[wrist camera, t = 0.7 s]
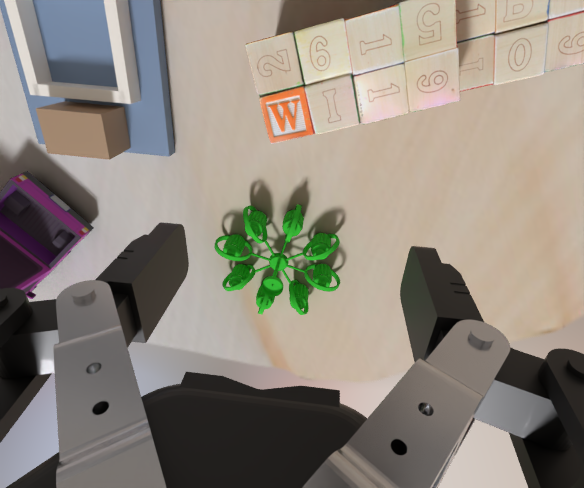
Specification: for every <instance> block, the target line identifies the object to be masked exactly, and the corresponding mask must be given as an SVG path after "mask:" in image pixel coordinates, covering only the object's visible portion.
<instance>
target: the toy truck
mask: <svg viewBox="0 0 584 488" xmlns="http://www.w3.org/2000/svg"><path fill="white" fill-rule="evenodd" d="M92 229H93V227H92V226H91V225H90V224H89V223H88V222H86V221H85V220H84V219H83V218H82V217H81V216H79V215H78V214H77V213H76V212H75V211H74V210H72V209H71V208H70V207H69V206H68V205H66V204H65V203H64V202H63V201H62V200H61V199H59V198H58V197H57V196H56V195H55V194H54V193H52V192H51V191H50V190H49V189H48V188H47V187H45V186H44V185H43V184H42V183H41V182H39V181H38V180H37V179H36V178H35V177H34V176H32V175H31V174H30V173H29V172H28V171H27V172H24V173H22V174H20V175H18V176H15V177H13V178H11V179H10V180H9V181H8V182H7V184H6V185H5V187H4V188H3V189H2V191H1V192H0V289H3V288H18V289H21V290H23V291H24V292H25V293H26V296H27V297H28V298H30V299H33V298H34V297H35V296H36V294H34V293H32V291H33V290H34V289H35V288H36V287H37V286H36V285H37V284H38V283H39V282H41V281H42V280H43V279H44V278H45V277H46V276H47V275H48V274H49V273H50V272H51V271H52V270H53V269H54V268H55V267H56V266H57V265H58V264H59V263H60V262H61V261H62V260H63V259H64V258H65V257H66V256H67V255H68V254H69V253H70V252H71V251H70V250H71V249H72V248H73V247H74V246H76V245H77V244H78V243H79V242H80V241H81V240H82V239H83V238H84V237H85V236H86V235H87V234H88V233H89V232H90V231H91V230H92Z"/></svg>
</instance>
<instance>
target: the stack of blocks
mask: <svg viewBox="0 0 584 488" xmlns="http://www.w3.org/2000/svg"><path fill="white" fill-rule="evenodd" d="M245 47H246V51H247V55H248V59H249V63H250V67H251V71H252V75H253V79H254V83H255V87H256V91H257V94H258V95H260V98H259V100H260V105H261V109H262V113H263V117H264V120H265V124H266V128H267V132H268V135H269V139H270V142H271V143H272V144H273V143H278V142H282V141H286V140H291V139H295V138H300V137H304V136H309V135H312V134H314V133H315V134H322V133H326V132H330V131H334V130H338V129H343V128H347V127H351V126H355V125H358V124H360V123H362V124H368V123H373V122H377V121H381V120H385V119H389V118H393V117H397V116H402V115H405V114H407V113H409V112H416V111H420V110H424V109H428V108H433V107H437V106H441V105H445V104H449V103H453V102H458V101H460V91H465V90H469V89H474V88H478V87H483V86H488V85H499V84H503V83H508V82H513V81H518V80H522V79H526V78H531V77H535V76H539V75H542V74H544V73H545V72H548V71H553V70H558V69H562V68H567V67H571V66H576V65H580V64H584V0H406V1H403V2H400V3H398V4H396V5H393V6H390V7H388V8H385V9H382V10H378V11H375V12H371V13H368V14H364V15H361V16H357V17H354V18H350V19H345V18H340V19H337V20H333V21H330V22H326V23H323V24H319V25H315V26H312V27H308V28H304V29H301V30H297V31H295V32H288V33H284V34H280V35H277V36H273V37H269V38H265V39H262V40H258V41H254V42H251V43H247V44H246V45H245Z"/></svg>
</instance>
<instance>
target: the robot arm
mask: <svg viewBox="0 0 584 488" xmlns="http://www.w3.org/2000/svg"><path fill="white" fill-rule="evenodd" d="M188 264H189V262H188V253H187V245H186V238H185V230H184V227H183V225H181V224H172V223H159V224H158V225H157V226H156V227H155V228H154V230H153V231H152V232H151V233H150V234H149V235H143V236H141V237H139V238H137V239H136V240H134V241H132V242H131V243H130V244H129V245H128V246H127V247H126V248H125V249H124V252H121V254H120V255H119V256H118V257H117V259H115V260H114V261H113V262H112V263H111V264H110V265H109V266H108V267H107V268H106V269H105V270H104V271H103V272H102V273H101V274H100V276H99V277H98V278H97V279H96V280H89V281H83V282H79V283H76V284H74V285H72V286H70V287H68V288H66V289H65V290H63V291H62V292H61V293H60V294H59V295H58V297H57V299H54V300H44V301H35V302H29V300H28V298H27V296H26V293H25V292H24V291H23V290H21V289H18V288H3V289H0V442H1V441H2V440H3V438H4V437H5V436H6V434H7V433H8V432H9V430H10V429H11V428H12V426H13V425H14V424H15V422H16V421H17V420H18V418H19V417H20V416H21V414H22V413H23V411H24V410H25V409H26V408H27V406H28V405H29V404H30V402H31V401H32V400H33V398H34V397H35V396H36V394H37V393H38V391H39V390H40V388H41V387H42V386H43V385H44V383H45V382H46V381H47V379H48V378H49V377H50V375H51V374H52V373H55V384H56V385H55V387H56V403H57V420H58V437H59V452H58V453H57V454H55V455H54V456H52V457H51V458H50V459H48V460H46V461H45V462H43V463H42V464H40V465H39V466H37V467H36V468H34V469H33V470H31V471H30V472H28V473H27V474H25V475H24V476H23V477H21V478H20V479H18V480H17V481H15V482H14V483H12V484H11V485H9V486H8V487H6V488H438V486H439V484H440V483H441V481H442V479H443V477H444V475H445V473H446V471H447V469H448V468H449V466H450V464H451V462H452V460H453V459H454V457H455V455H456V453H457V451H458V450H459V447H460V446H461V444H462V442H463V441H464V439H465V437H466V435H467V434H468V432H469V430H470V428H471V426H472V424H473V423H474V421H475V419H477V420H479V421H482V422H484V423H487V424H489V425H492V426H494V427H496V428H499V429H501V430H504V431H506V432H509V434H510V437H511V440H512V443H513V446H514V448H515V451H516V454H517V457H518V460H519V463H520V465H521V468H522V471H523V474H524V476H525V480H526V482H527V485H528V488H584V354H582V353H579V352H577V351H573V350H569V349H554V350H552V351H550V352H549V353H548V355H547V356H546V358H545V359H541V358H539V357H535V356H532V355H529V354H526V353H523V352H520V351H518V350H514V349H513V348H510V343H509V341H508V340H507V338H506V337H505V336H504V335H503V334H502V333H501V332H500V331H499V330H498V329H496V328H495V327H493V326H491V325H489V324H487V323H484V321H483V319H482V317H481V315H480V313H479V311H478V309H477V306H476V304H475V302H474V300H473V298H472V296H471V295H470V292H469V290H468V288H467V286H465V285H466V284H465V282H464V280H463V278H462V276H461V274H460V273H459V272H458V271H457V270H456V269H455V268H454V267H452V266H451V265H450V264H444V263H441V260H440V258H439V256H438V253H437V251H436V249H435V248H427V247H416V246H412V247H411V248H410V251H409V254H408V259H407V263H406V267H405V271H404V275H403V279H402V283H401V290H400V297H401V303H402V308H403V312H404V317H405V321H406V326H407V330H408V335H409V339H410V344H411V348H412V352H413V357H414V361H415V363H414V364H413V366H412V367H411V368H410V369H409V370H408V372H407V373H406V374H405V375H404V377H402V379H401V380H400V381H399V382H398V383H397V385H396V386H395V387H394V388H393V389H392V390H391V392H390V393H389V394H388V395H387V396H386V397H385V399H384V400H383V401H382V402H381V404H380V405H379V406H378V407H377V408H376V409H375V410H374V412H373V413H372V414H371V415H370V416H369V417H368V419H367V418H366V417H365V416H363V415H362V414H360V413H359V412H357V411H356V410H354V409H352V408H350V407H348V406H346V405H343V404H341V403H340V398H339V397H340V393H339V392H340V391H339V390H332V389H324V388H315V387H307V386H294V387H284V388H274V389H265V390H260V389H256V388H253V387H250V386H248V385H245V384H242V383H240V382H237V381H234V380H232V379H229V378H226V377H224V376H217V375H209V374H200V373H192V372H186V373H185V376H184V378H183V380H182V382H181V384H176V385H172V386H167V387H164V388H161V389H157V390H155V391H153V392H151V393H148V394H146V395H144V396H143V397H141V395H140V391H139V388H138V384H137V381H136V377H135V373H134V370H133V366H132V363H131V359H130V355H129V352H128V346H129V345H130V343H131V342H141V343H146V342H147V340H148V339H149V337H150V335H151V334H152V332H153V330H154V329H155V327H156V325H157V324H158V322H159V320H160V319H161V317H162V316H163V314H164V312H165V311H166V309H167V307H168V306H169V304H170V302H171V301H172V299H173V297H174V296H175V294H176V292H177V291H178V289H179V287H180V286H181V284H182V283H183V281H184V279H185V277H186V275H187V272H188Z"/></svg>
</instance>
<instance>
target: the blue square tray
mask: <svg viewBox="0 0 584 488" xmlns="http://www.w3.org/2000/svg"><path fill="white" fill-rule="evenodd" d="M0 8H1V12H2V15H3V19H4V22H5V26H6V29H7V33H8V37H9V40H10V44H11V47H12V51H13V54H14V58H15V61H16V65H17V68H18V72H19V75H20V79H21V82H22V86H23V89H24V93H25V96H26V100H27V103H28V107H29V110H30V114H31V118H32V121H33V125H34V128H35V132H36V135H37V139H38V142H39V144H45V145H46V148H47V152H48V153H51V154H61V155H71V156H81V157H91V158H101V159H111V158H113V157H115V156H117V155H119V154H120V153H122V152H130V153H140V154H150V155H160V156H171V155H172V154H173V153H175V147H174V137H173V127H172V116H171V106H170V96H169V86H168V75H167V65H166V55H165V44H164V34H163V24H162V14H161V3H160V0H0Z"/></svg>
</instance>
